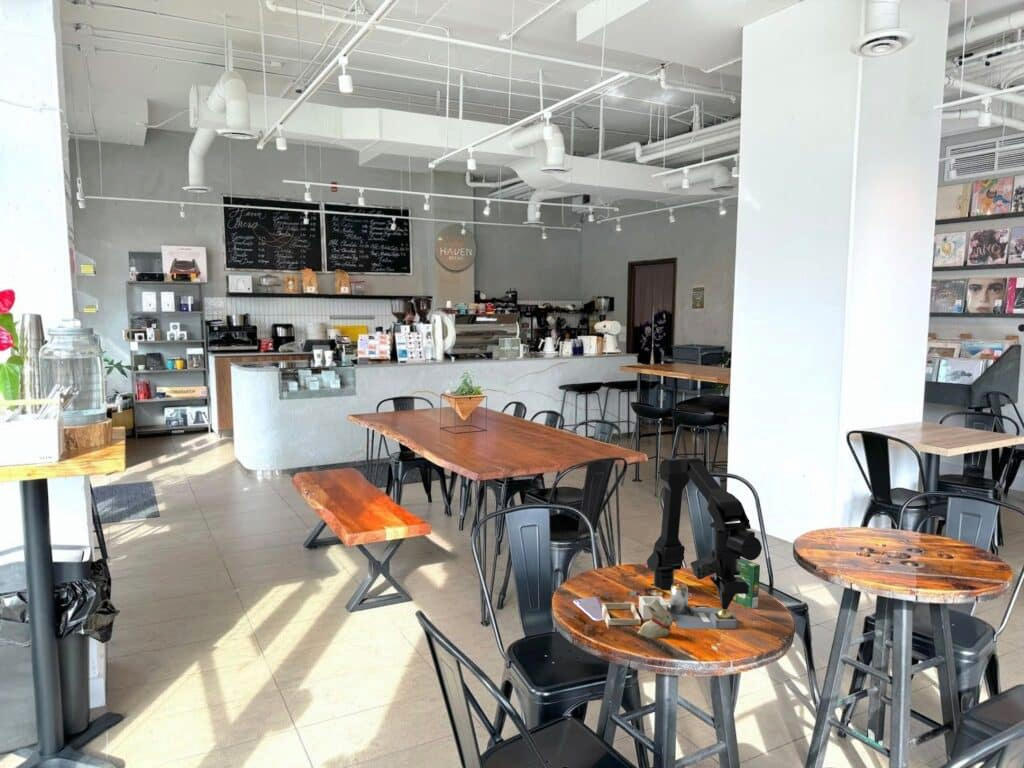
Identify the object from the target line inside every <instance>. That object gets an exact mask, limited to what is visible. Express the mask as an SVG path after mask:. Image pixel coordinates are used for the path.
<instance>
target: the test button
mask: <svg viewBox="0 0 1024 768" xmlns="http://www.w3.org/2000/svg"><path fill="white" fill-rule="evenodd" d="M731 612H732V610H730V609H728V608H727V609H722V607H721V608H720V609H718V619H731Z"/></svg>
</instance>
